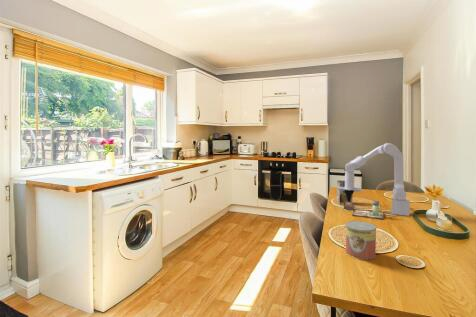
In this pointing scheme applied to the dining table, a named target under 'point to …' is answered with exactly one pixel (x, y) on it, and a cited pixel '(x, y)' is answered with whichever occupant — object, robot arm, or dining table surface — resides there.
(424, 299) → the dining table surface
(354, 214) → the colouring board
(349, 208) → the button housing
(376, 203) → the sage marker
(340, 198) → the coffee box
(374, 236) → the canned food
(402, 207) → the robot arm
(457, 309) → the dining table surface
